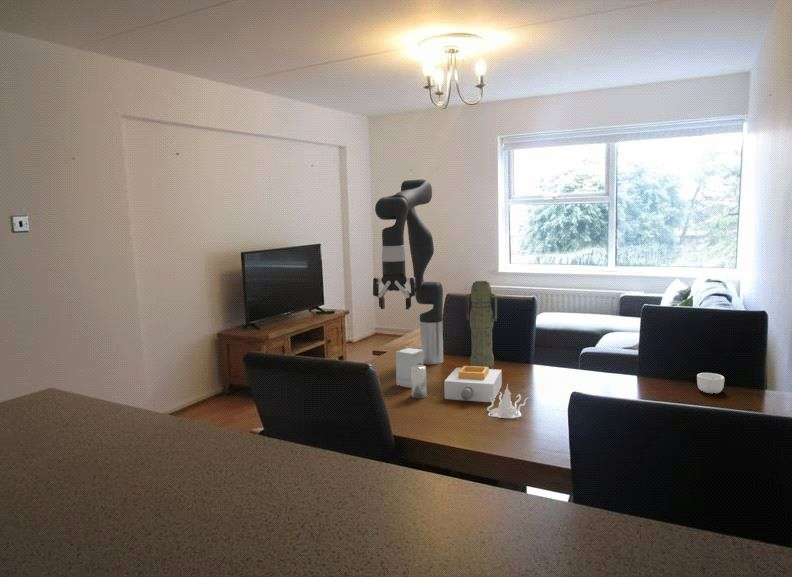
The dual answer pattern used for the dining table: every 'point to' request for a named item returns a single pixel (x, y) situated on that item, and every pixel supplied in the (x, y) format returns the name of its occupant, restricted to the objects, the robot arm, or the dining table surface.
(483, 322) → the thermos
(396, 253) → the robot arm
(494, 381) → the white square box
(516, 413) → the tentacle sculpture
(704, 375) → the teacup
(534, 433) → the dining table surface
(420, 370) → the shiny metal cylinder
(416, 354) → the supplement box
